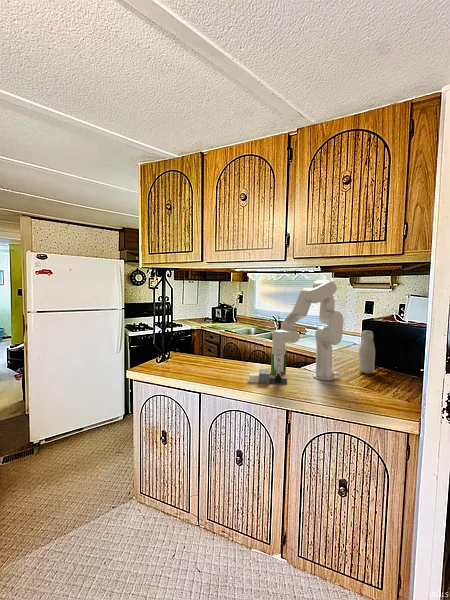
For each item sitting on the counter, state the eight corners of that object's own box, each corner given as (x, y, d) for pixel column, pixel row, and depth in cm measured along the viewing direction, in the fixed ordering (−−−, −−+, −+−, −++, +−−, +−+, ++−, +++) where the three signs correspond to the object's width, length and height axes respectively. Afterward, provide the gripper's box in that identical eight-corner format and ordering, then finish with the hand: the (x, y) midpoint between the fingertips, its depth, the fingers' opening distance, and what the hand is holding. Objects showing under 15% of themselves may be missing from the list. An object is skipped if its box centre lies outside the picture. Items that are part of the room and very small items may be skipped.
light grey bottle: (373, 371, 220) (374, 329, 218) (375, 375, 210) (377, 332, 209) (357, 370, 223) (358, 328, 221) (358, 374, 213) (360, 331, 211)
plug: (286, 381, 197) (286, 375, 196) (286, 384, 193) (287, 377, 193) (249, 379, 200) (249, 373, 200) (249, 381, 196) (249, 375, 196)
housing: (269, 379, 201) (269, 369, 201) (269, 384, 191) (269, 374, 191) (259, 378, 202) (259, 368, 202) (258, 384, 192) (259, 373, 192)
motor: (280, 375, 209) (280, 344, 207) (267, 373, 214) (268, 342, 213) (287, 372, 217) (288, 342, 215) (275, 370, 222) (276, 340, 221)
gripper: (285, 354, 186) (285, 386, 187) (284, 348, 202) (284, 378, 203) (272, 354, 187) (271, 386, 188) (272, 348, 203) (271, 377, 204)
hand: (278, 381), depth 195 cm, fingers open, 3 cm apart
